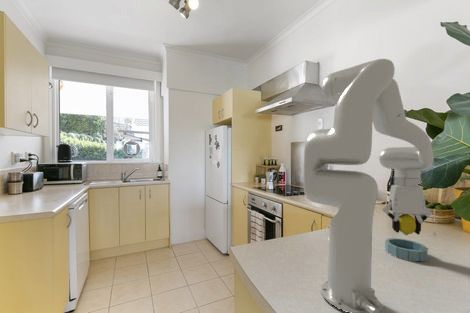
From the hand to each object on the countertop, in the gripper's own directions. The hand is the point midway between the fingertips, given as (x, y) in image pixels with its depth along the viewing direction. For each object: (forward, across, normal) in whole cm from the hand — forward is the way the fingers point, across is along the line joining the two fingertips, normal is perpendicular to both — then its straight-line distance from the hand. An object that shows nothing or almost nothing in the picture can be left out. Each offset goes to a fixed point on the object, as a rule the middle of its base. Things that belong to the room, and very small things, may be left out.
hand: (406, 231), depth 81 cm
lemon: (+1, 0, 0) cm, 1 cm away
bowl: (+8, 0, 0) cm, 8 cm away
